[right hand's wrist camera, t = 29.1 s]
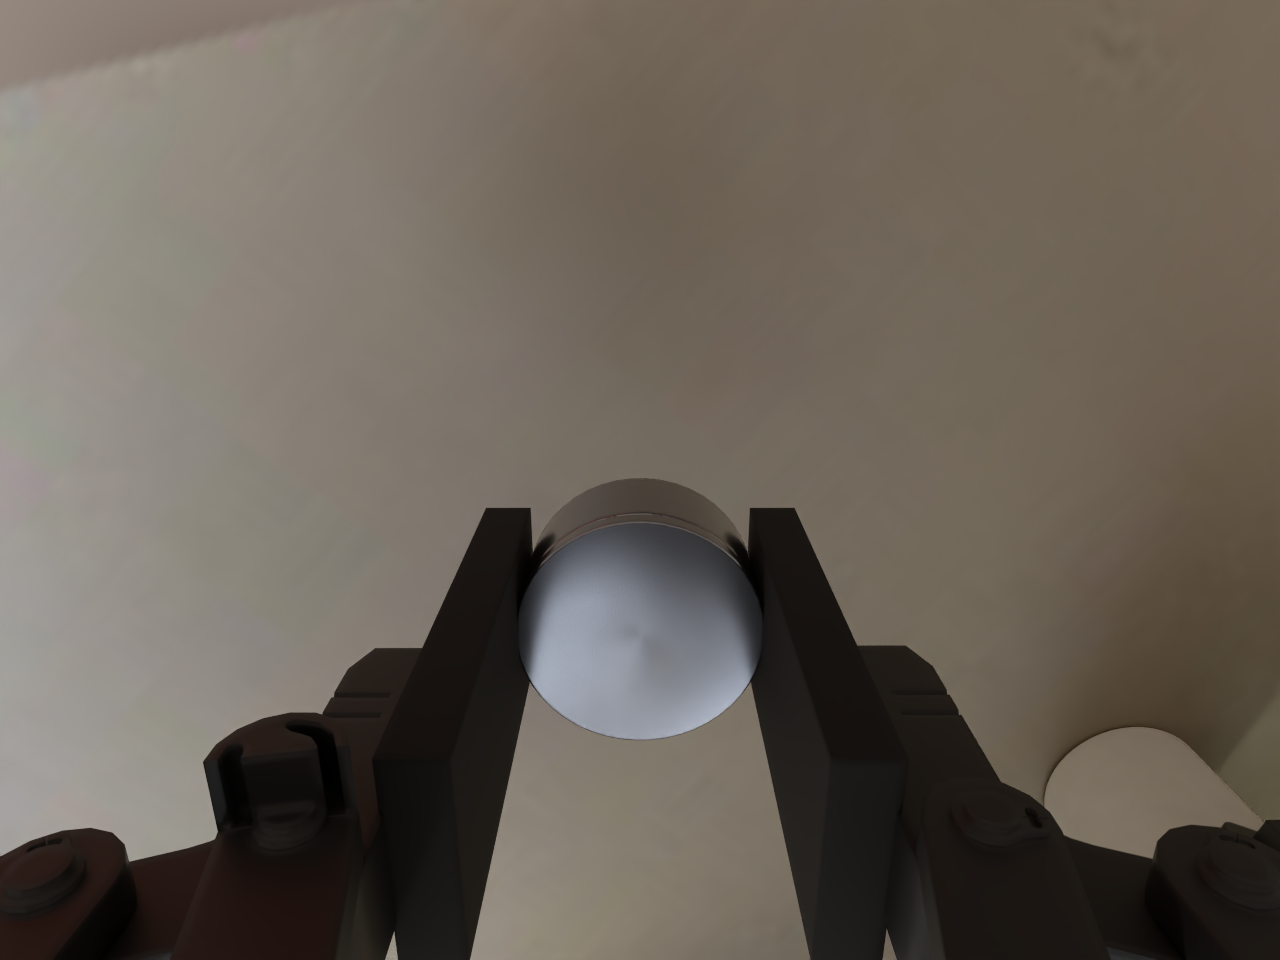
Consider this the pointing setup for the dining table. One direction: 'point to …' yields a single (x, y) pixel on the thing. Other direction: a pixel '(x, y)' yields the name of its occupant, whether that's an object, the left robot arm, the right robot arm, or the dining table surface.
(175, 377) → the dining table surface
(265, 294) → the dining table surface
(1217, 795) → the bottle
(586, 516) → the cap
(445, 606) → the right robot arm
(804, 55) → the dining table surface
